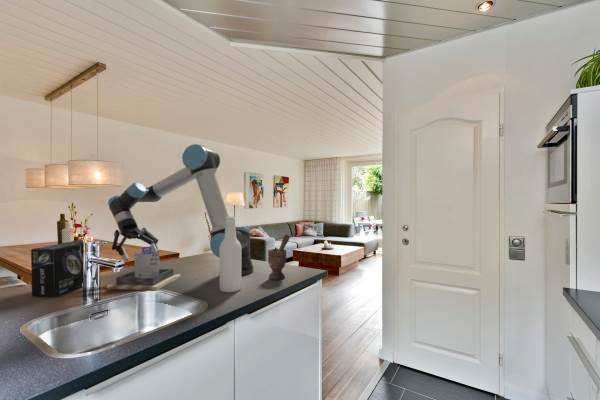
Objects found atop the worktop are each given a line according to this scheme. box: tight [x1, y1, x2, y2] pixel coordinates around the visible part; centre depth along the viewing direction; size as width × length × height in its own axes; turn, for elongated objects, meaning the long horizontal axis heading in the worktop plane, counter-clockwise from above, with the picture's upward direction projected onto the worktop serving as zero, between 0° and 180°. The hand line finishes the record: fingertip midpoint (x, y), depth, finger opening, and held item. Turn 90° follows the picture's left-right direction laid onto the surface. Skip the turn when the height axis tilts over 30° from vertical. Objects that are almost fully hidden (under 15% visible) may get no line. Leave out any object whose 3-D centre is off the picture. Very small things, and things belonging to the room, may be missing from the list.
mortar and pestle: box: [267, 234, 290, 281], centre depth 140 cm, size 12×9×20 cm
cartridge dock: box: [106, 268, 182, 291], centre depth 132 cm, size 22×20×4 cm
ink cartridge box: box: [133, 246, 160, 278], centre depth 132 cm, size 10×6×14 cm, turn 119°
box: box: [30, 239, 84, 299], centre depth 123 cm, size 23×10×19 cm, turn 175°
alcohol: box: [219, 216, 242, 293], centre depth 121 cm, size 9×9×30 cm
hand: (142, 257), depth 133 cm, fingers open, 13 cm apart
